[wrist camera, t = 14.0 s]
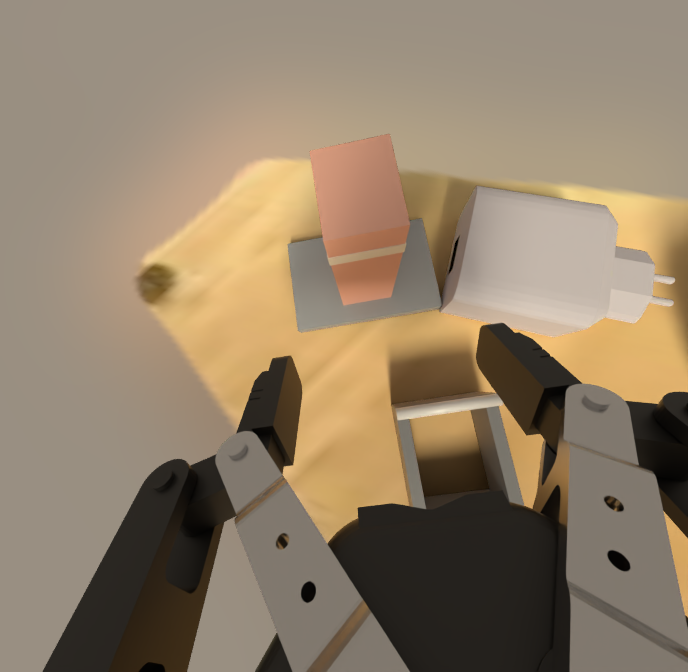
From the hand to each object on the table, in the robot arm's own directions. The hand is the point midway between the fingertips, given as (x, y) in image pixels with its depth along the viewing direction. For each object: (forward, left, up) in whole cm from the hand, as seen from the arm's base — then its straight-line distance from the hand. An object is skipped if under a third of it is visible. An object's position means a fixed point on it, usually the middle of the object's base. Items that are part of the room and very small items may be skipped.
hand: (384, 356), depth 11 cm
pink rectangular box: (0, -8, -10) cm, 13 cm away
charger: (-15, -5, -11) cm, 19 cm away
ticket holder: (-4, +7, -11) cm, 13 cm away
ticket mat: (0, -8, -11) cm, 13 cm away
